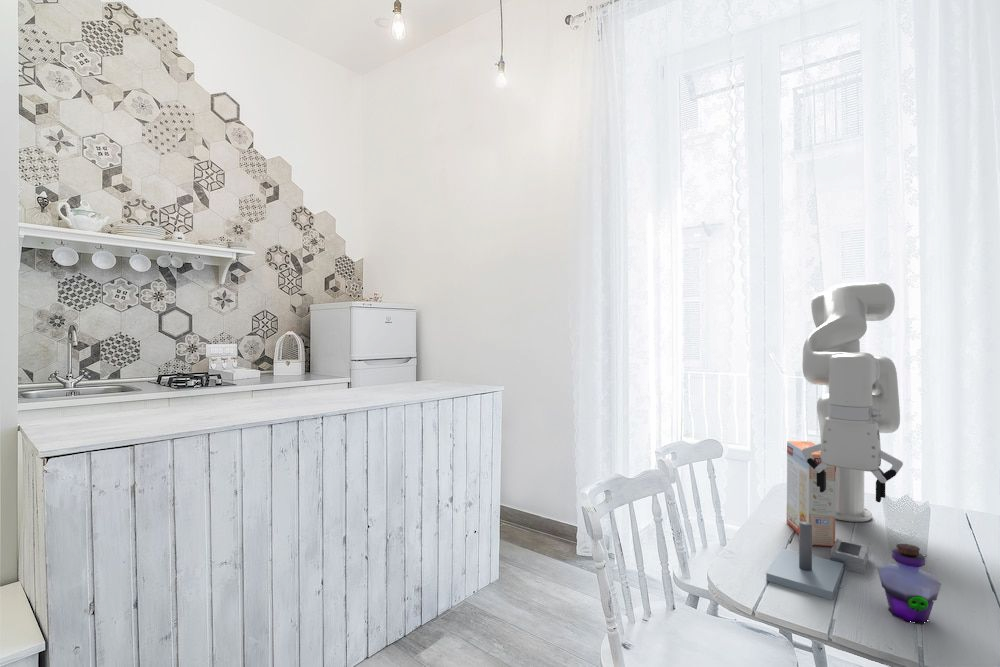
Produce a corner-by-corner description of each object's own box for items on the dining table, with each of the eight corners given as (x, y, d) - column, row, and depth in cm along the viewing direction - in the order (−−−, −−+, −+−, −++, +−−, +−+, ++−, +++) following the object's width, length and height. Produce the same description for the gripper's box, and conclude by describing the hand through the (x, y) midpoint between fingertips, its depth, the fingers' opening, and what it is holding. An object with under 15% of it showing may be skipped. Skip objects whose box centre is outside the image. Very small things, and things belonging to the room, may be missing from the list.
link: (836, 551, 111) (836, 538, 111) (867, 559, 107) (868, 545, 107) (830, 565, 105) (830, 551, 105) (863, 574, 101) (863, 559, 101)
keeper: (782, 555, 110) (782, 507, 110) (843, 570, 103) (843, 519, 103) (766, 580, 99) (766, 527, 99) (832, 600, 92) (832, 543, 92)
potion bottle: (905, 631, 83) (905, 558, 83) (864, 602, 92) (865, 536, 91) (955, 628, 83) (956, 556, 83) (910, 600, 92) (910, 534, 92)
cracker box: (837, 548, 113) (837, 455, 113) (807, 546, 114) (807, 454, 114) (812, 523, 127) (812, 440, 126) (785, 521, 128) (785, 439, 127)
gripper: (903, 415, 103) (903, 499, 103) (805, 407, 114) (805, 483, 114) (902, 420, 97) (901, 509, 97) (798, 411, 108) (798, 491, 108)
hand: (849, 495), depth 105 cm, fingers open, 9 cm apart
